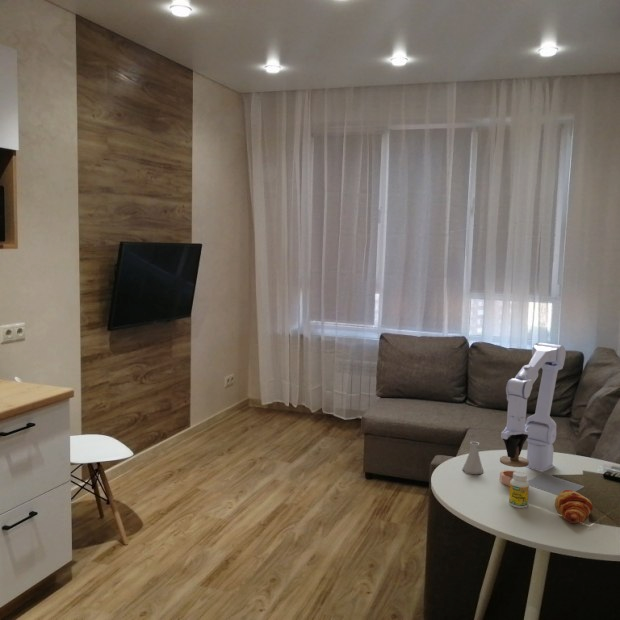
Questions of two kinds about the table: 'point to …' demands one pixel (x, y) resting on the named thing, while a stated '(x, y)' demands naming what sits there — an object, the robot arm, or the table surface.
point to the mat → (553, 484)
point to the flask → (473, 460)
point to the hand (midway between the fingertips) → (513, 456)
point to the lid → (514, 460)
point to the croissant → (573, 506)
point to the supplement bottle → (519, 490)
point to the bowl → (506, 476)
